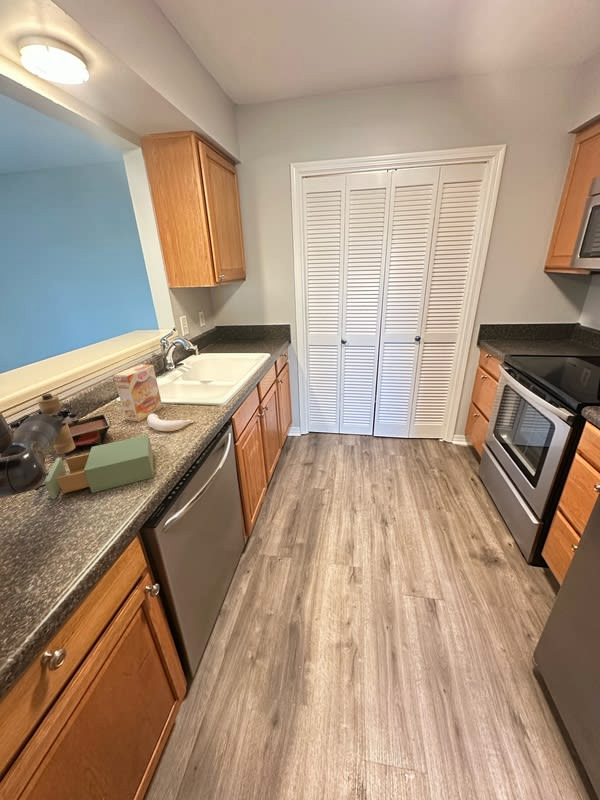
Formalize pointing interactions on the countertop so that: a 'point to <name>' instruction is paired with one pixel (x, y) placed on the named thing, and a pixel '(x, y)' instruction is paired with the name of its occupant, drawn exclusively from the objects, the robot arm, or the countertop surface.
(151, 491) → the countertop surface
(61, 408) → the robot arm
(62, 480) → the drawer
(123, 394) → the coffeecake box
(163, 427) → the banana
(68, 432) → the pepper mill
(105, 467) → the cabinet
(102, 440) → the baking dish
